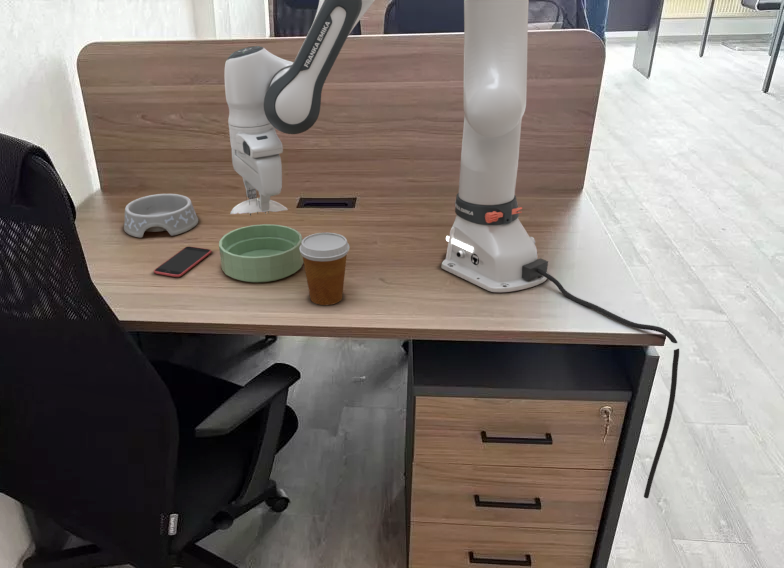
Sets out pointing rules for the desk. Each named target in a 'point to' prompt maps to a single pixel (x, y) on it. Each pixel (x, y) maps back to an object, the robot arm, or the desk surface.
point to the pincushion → (256, 206)
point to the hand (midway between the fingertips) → (258, 203)
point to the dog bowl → (160, 215)
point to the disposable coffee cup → (325, 266)
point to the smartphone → (182, 261)
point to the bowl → (261, 253)
